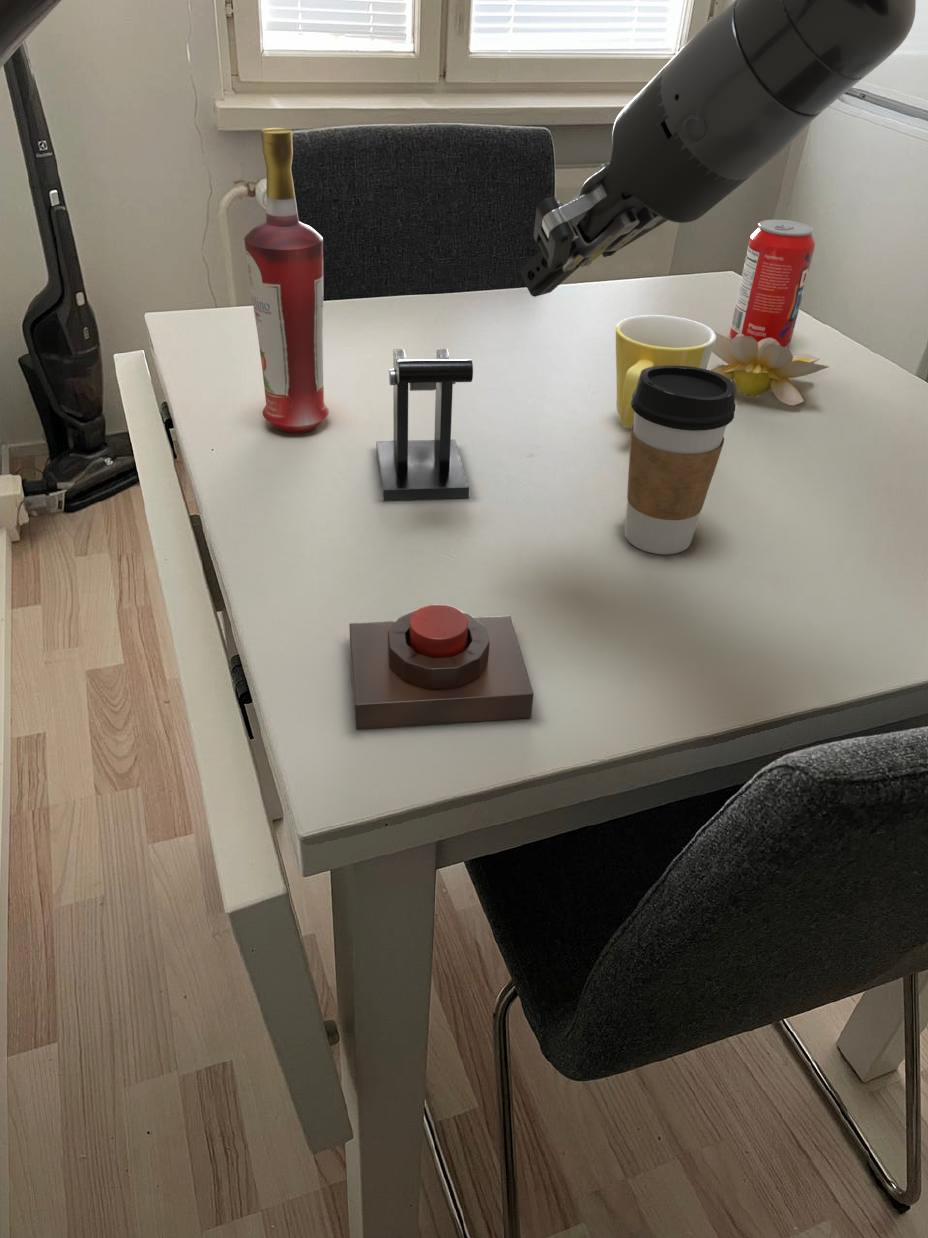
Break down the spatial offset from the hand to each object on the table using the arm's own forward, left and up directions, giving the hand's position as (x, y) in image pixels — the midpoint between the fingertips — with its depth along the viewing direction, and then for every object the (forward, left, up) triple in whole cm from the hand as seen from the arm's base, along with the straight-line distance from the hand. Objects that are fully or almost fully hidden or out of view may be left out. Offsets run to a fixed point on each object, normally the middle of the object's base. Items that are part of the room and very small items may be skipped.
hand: (532, 282), depth 66 cm
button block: (-8, -14, -24) cm, 29 cm away
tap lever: (-6, +12, -13) cm, 19 cm away
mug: (+19, +26, -24) cm, 40 cm away
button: (-8, -14, -20) cm, 26 cm away
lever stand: (-6, +17, -24) cm, 30 cm away
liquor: (-18, +29, -24) cm, 42 cm away
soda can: (+42, +50, -24) cm, 70 cm away
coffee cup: (+14, +4, -24) cm, 28 cm away
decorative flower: (+36, +35, -24) cm, 56 cm away
